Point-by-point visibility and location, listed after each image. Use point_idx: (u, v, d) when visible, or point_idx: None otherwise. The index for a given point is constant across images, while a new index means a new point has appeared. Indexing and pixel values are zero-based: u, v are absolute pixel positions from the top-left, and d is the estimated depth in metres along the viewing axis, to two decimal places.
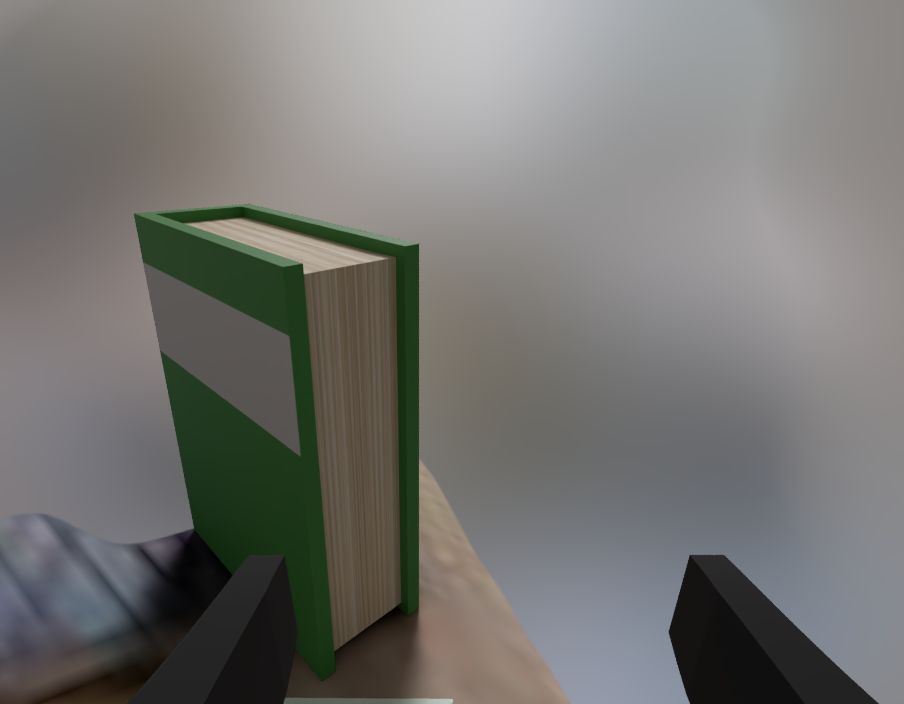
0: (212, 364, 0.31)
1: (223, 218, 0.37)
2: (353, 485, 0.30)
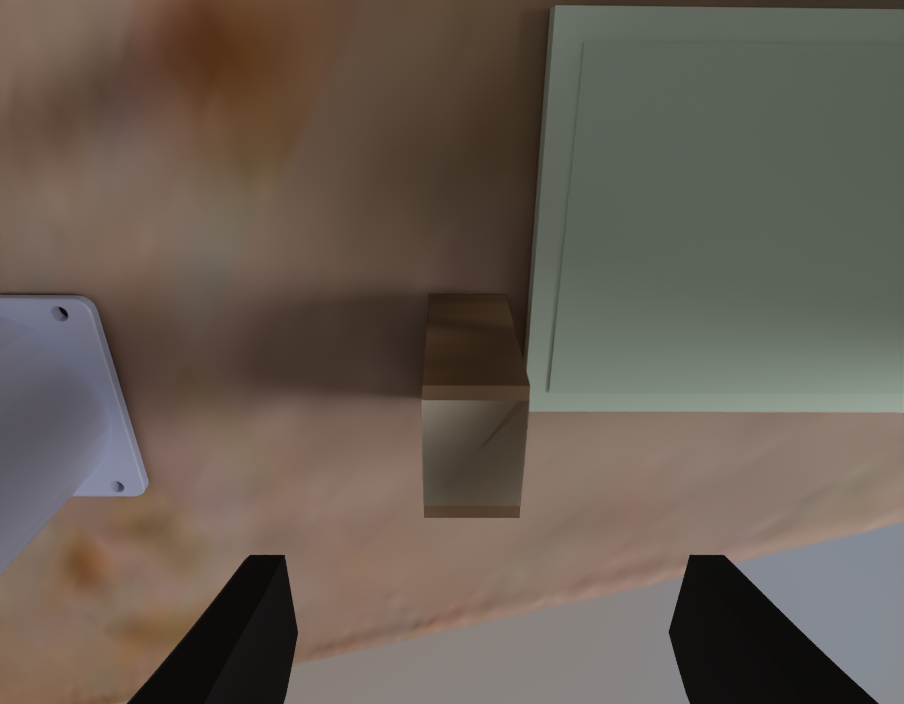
0: None
1: None
2: None
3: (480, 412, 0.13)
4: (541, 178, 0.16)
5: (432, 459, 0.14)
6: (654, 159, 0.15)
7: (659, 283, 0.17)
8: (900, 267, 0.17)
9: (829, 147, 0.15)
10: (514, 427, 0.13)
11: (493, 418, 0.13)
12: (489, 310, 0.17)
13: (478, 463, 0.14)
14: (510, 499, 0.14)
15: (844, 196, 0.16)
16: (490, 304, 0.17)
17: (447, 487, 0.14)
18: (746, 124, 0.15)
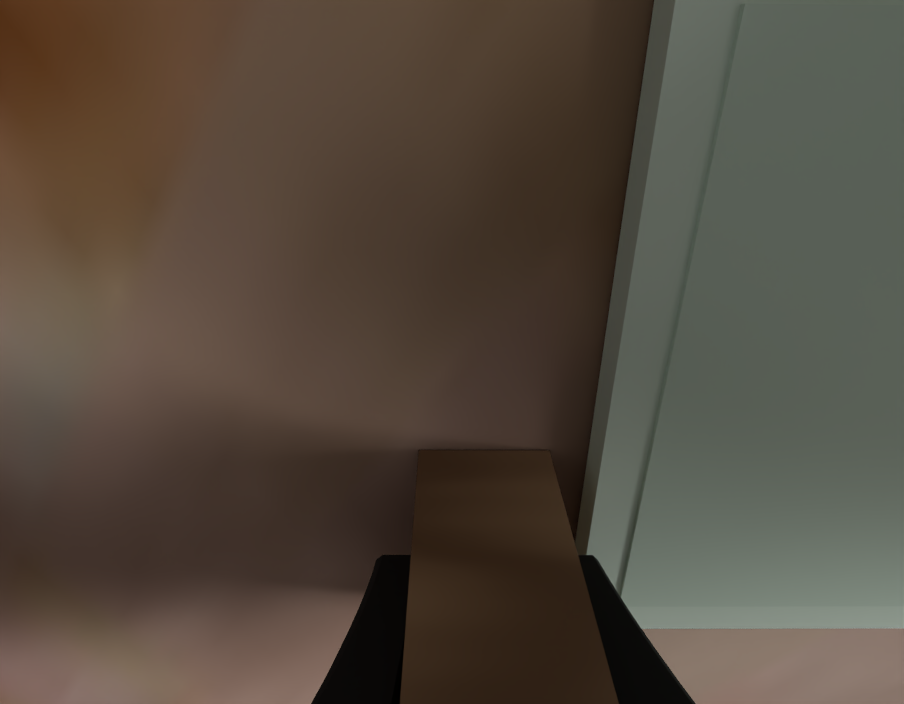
0: None
1: None
2: None
3: None
4: (630, 272, 0.08)
5: None
6: (855, 239, 0.08)
7: (829, 448, 0.10)
8: None
9: None
10: None
11: None
12: (526, 500, 0.09)
13: None
14: None
15: None
16: (525, 482, 0.10)
17: None
18: None
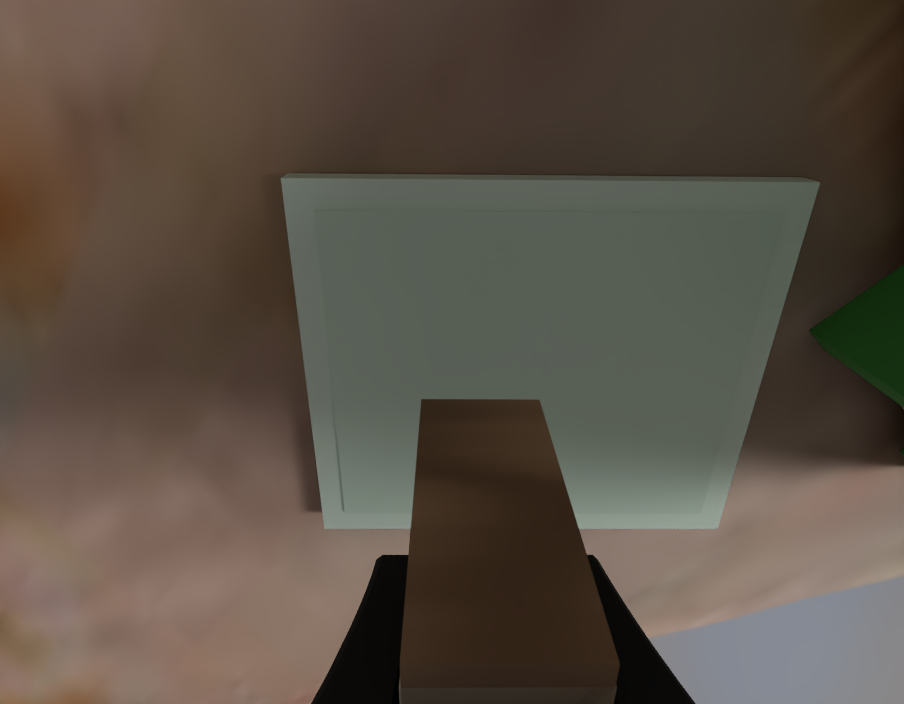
0: None
1: None
2: None
3: None
4: (300, 326, 0.16)
5: None
6: (404, 311, 0.16)
7: None
8: (666, 404, 0.17)
9: (573, 300, 0.16)
10: None
11: None
12: (518, 437, 0.10)
13: None
14: None
15: (599, 342, 0.16)
16: (518, 423, 0.11)
17: None
18: (487, 281, 0.15)
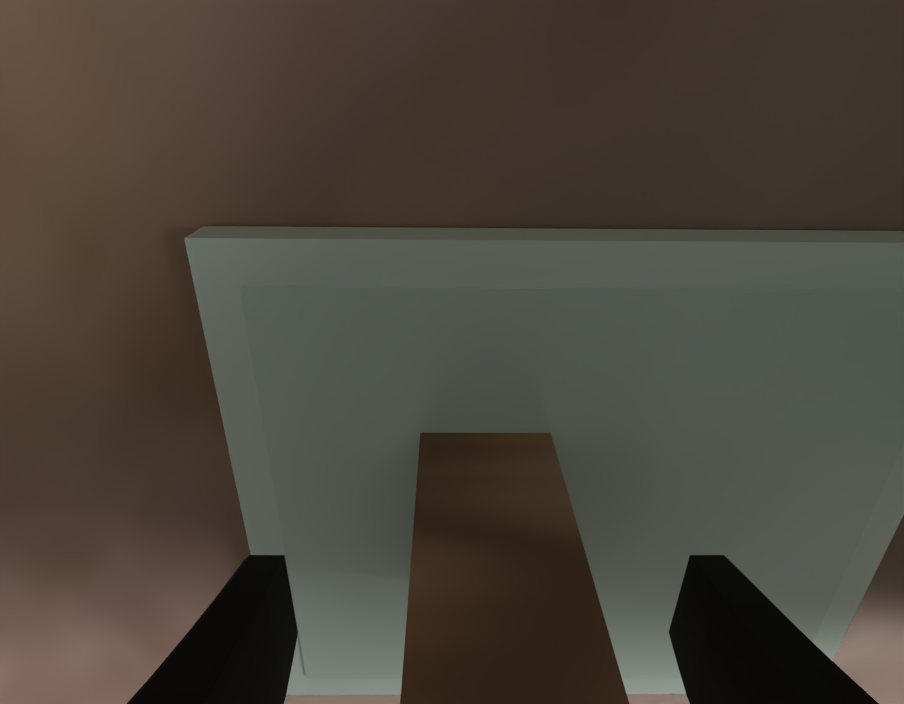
0: None
1: None
2: None
3: None
4: (230, 446, 0.11)
5: None
6: (383, 428, 0.11)
7: None
8: (762, 547, 0.12)
9: (637, 414, 0.10)
10: None
11: None
12: (528, 481, 0.09)
13: None
14: None
15: (672, 467, 0.11)
16: (527, 463, 0.10)
17: None
18: (509, 387, 0.10)
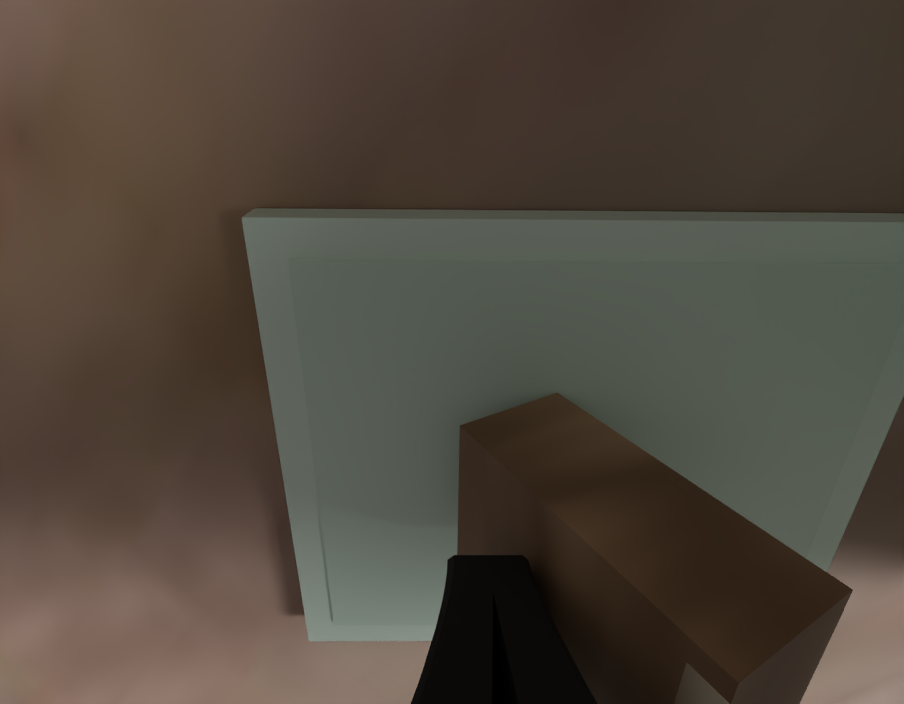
0: None
1: None
2: None
3: (790, 666, 0.07)
4: (272, 406, 0.12)
5: None
6: (409, 388, 0.12)
7: (445, 517, 0.14)
8: (746, 499, 0.13)
9: (634, 375, 0.12)
10: (814, 656, 0.08)
11: (799, 662, 0.07)
12: (581, 433, 0.11)
13: None
14: None
15: (664, 425, 0.13)
16: (566, 420, 0.11)
17: None
18: (521, 351, 0.12)
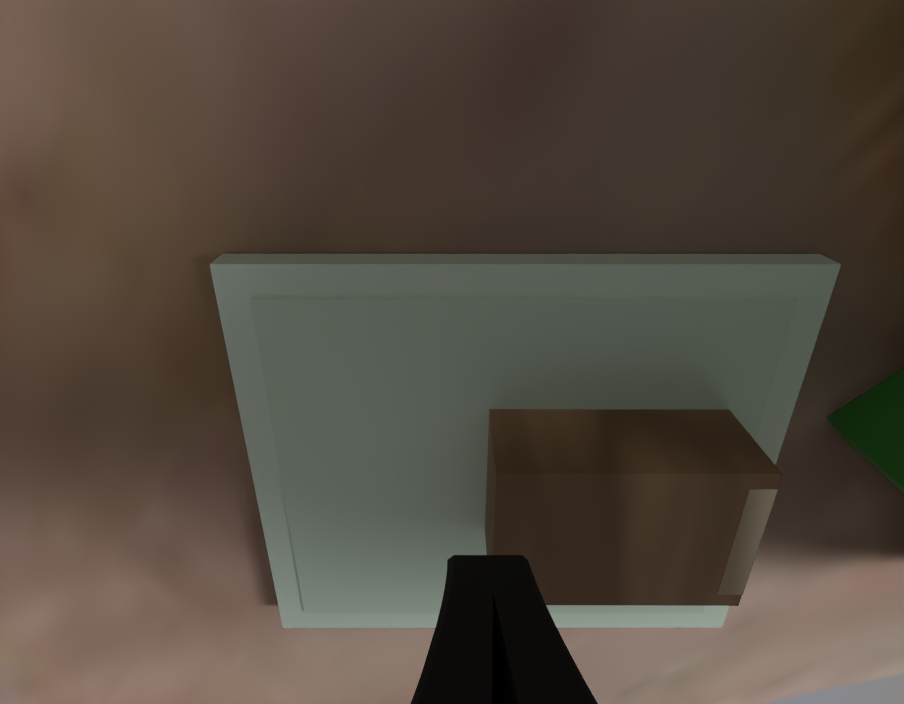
0: None
1: None
2: None
3: None
4: (242, 421, 0.14)
5: None
6: (359, 406, 0.14)
7: (397, 517, 0.15)
8: None
9: (553, 394, 0.14)
10: None
11: None
12: (549, 423, 0.13)
13: None
14: None
15: None
16: (529, 421, 0.13)
17: None
18: (454, 374, 0.13)
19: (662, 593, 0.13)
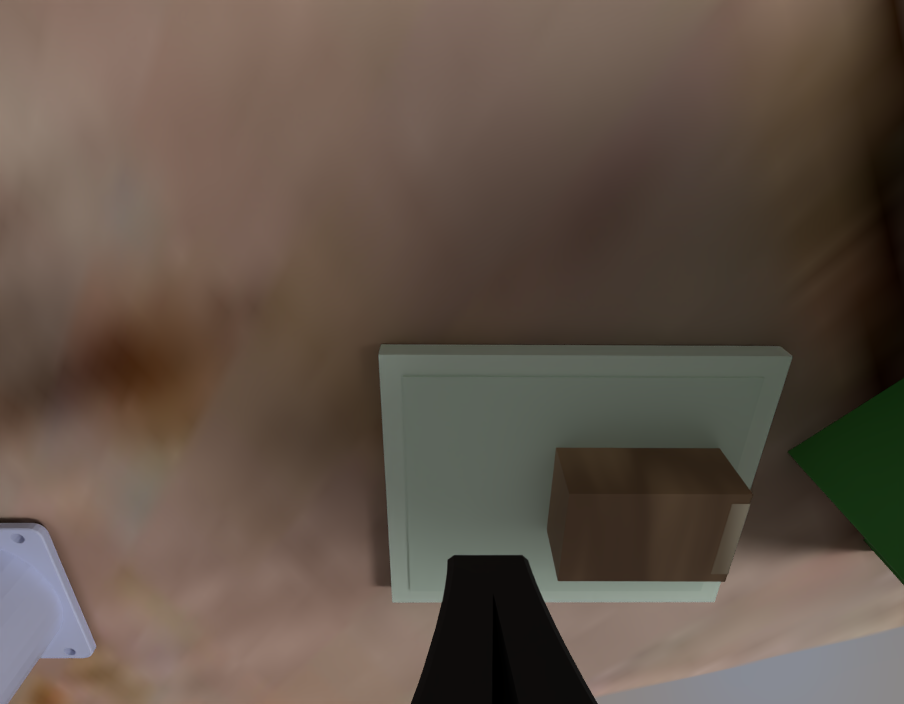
0: None
1: None
2: None
3: None
4: (384, 454, 0.21)
5: None
6: (467, 445, 0.20)
7: (485, 521, 0.22)
8: None
9: (600, 438, 0.20)
10: None
11: None
12: (598, 458, 0.20)
13: None
14: None
15: None
16: (584, 457, 0.20)
17: None
18: (534, 424, 0.20)
19: (674, 573, 0.20)
